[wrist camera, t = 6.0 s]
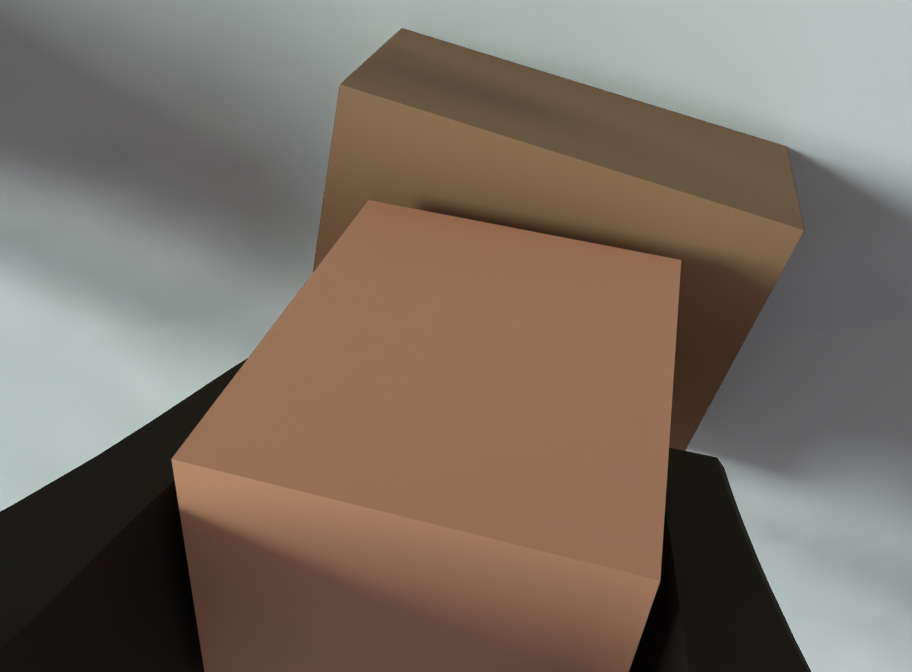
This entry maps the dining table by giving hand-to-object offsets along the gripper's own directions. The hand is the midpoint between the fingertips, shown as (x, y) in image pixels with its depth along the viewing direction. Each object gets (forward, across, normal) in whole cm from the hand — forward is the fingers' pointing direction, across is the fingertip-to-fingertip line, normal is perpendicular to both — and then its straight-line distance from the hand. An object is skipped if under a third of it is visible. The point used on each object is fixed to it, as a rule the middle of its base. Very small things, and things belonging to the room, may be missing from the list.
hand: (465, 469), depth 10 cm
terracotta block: (+2, 0, 0) cm, 2 cm away
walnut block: (+6, 0, 0) cm, 6 cm away
